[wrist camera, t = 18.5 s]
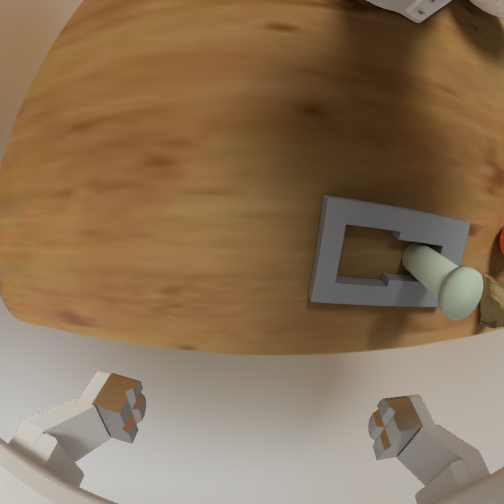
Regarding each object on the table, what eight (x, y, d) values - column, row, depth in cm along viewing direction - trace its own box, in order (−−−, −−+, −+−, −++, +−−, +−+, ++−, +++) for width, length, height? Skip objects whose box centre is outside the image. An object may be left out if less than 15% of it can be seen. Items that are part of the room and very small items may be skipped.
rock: (495, 332, 35) (521, 291, 31) (498, 353, 29) (530, 308, 25) (459, 307, 41) (483, 264, 36) (459, 326, 35) (488, 277, 30)
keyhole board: (308, 293, 36) (310, 301, 34) (323, 194, 32) (327, 197, 30) (439, 300, 36) (446, 307, 34) (460, 219, 32) (470, 223, 29)
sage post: (423, 228, 33) (478, 259, 21) (435, 261, 34) (486, 299, 22) (391, 251, 34) (439, 292, 22) (405, 283, 35) (449, 330, 23)
